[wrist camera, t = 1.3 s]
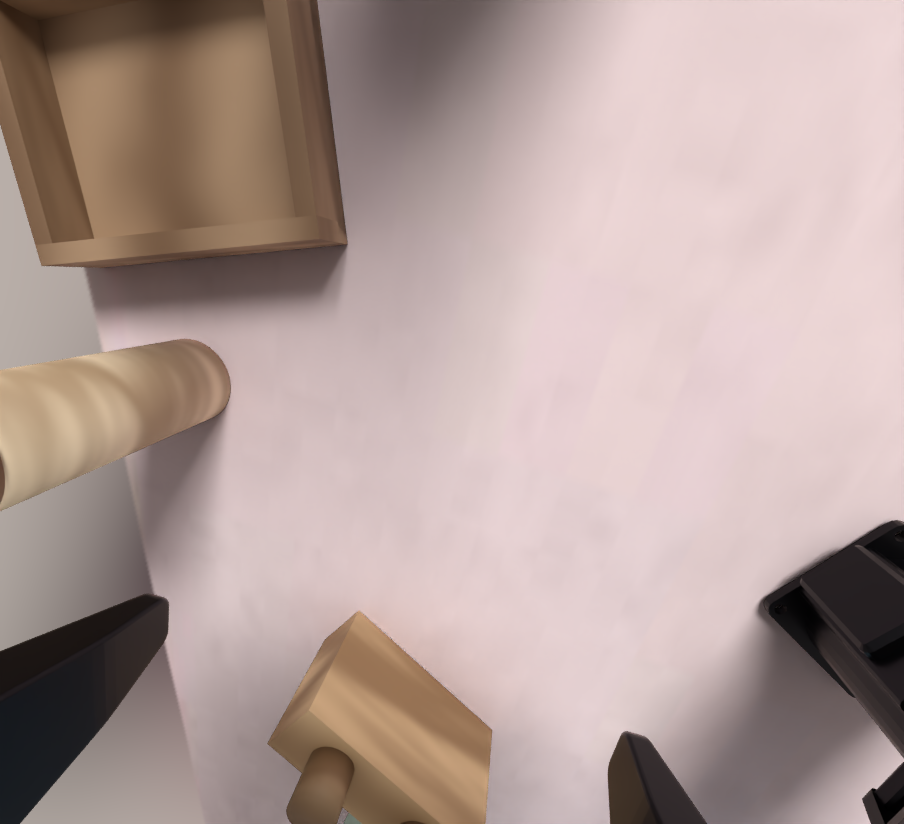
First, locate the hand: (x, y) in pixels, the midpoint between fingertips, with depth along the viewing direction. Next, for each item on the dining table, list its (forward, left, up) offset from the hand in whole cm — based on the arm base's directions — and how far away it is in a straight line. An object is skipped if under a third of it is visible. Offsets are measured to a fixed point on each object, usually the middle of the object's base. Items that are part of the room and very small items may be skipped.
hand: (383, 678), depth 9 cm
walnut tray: (+17, -2, -13) cm, 22 cm away
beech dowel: (+11, +7, -13) cm, 19 cm away
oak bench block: (-8, +12, -13) cm, 19 cm away
